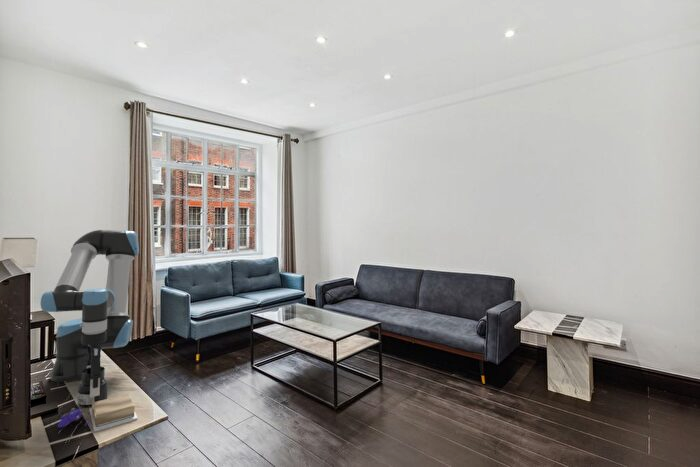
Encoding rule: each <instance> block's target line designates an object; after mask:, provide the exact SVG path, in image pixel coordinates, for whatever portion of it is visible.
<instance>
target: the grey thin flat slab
mask: <svg viewBox="0 0 700 467" xmlns="http://www.w3.org/2000/svg"><path fill="white" fill-rule="evenodd" d="M88 410H89V414H90V415H91V417H90V419H91V422H92V423H91V424H92V428H93V432H98V431H102V430H106V429H109V428H112V427H115V426H118V425H123V424H125V423H130V422H133V421H137V420H138V415H137V413H136V412H135V410H134V415H132V416H128V417H125V418H121V419H118V420H114V421H111V422H107V423H104V424H100V425H96V426H95V422H94V418H93V414H92V407H89V409H88ZM90 415H89V416H90Z"/></svg>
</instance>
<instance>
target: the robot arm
mask: <svg viewBox="0 0 700 467" xmlns="http://www.w3.org/2000/svg"><path fill="white" fill-rule="evenodd" d="M70 248H71V249H70V253H71V255H70V256H69V259H68V261H67V263H66V265H65V268H64V269H63V271H62V274H61V276H60V278H59V280H58V282H57V283H56V286H55V288H54V289H53V291H45V292H43V294H42V296H41V299H40V309H41V310H42V312H45V313H57V312H58V313H59V312H73V311H74V312H77V311H78V312H80V311H82V312H81V318H76V319H72V320H67V321H65V322H63V323H61V324H60V325H59V324H58V326H57V329H56V336H55V337H56V341H55V342H56V346H55V348H56V353H55V354H56V355H55V356H56V357H55V358H56V359H55V362H54V363H53V364H54V365H53V367H52V369H51V372H50V378H49V379H50V381H52V382H55V383H68V382H75V381H79V380H82V371H83V370H85V369H87V368H91V377H89V380H90V397H94V396H98V395H100V378H101V357H102V356H101V352H102V350H103V349H116V348H123V347H125V346H127V345H128V343H129V342H130V339H131V337H132V332H133V326H134V321H133V319H130V315H129V314H128V313H127V304H128V302H127V301H128V295H129V293H128V292H129V283H130V269H131V262H132V261H133V260H135V257H136V256H138V255H139V254H140V246H139V237H138V234H137V233H136V231H133V230H110V229H96V230H93V231H90V232H87V233H85V234H84V235H82V236H80V237H79V238H78V239H77V240H76V241H75V242H74V243H73V245H72V247H70ZM98 255H99V256H101V255H103V256H104V255H105V259H106V260H107V261H108V264H107V265H108V268H107V276H106V277H107V278H106V285H105V288H90V289H86V290H80V288H81V287H82V284H83V282H84V281H85V277H86V275H87V272H88V271H89V270H88V269H89V267H90V265H91V263H92V260H93V259H95V258H96V257H97V256H98ZM95 374H98V375H95Z"/></svg>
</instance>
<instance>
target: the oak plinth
mask: <svg viewBox="0 0 700 467" xmlns="http://www.w3.org/2000/svg"><path fill="white" fill-rule="evenodd" d="M91 408H92V414H93V418H94V422H95V426H96V425H100V424H104V423H107V422H111V421H114V420H118V419H121V418H125V417H128V416H132V415H134V411H135V404H134V403H133V400H132V398H131V395H130V393H126V394H120V395H117V396H113V397H109V398H107V399H105V400H101V401H97V402H93V403H92V407H91Z"/></svg>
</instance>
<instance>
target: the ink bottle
mask: <svg viewBox="0 0 700 467" xmlns="http://www.w3.org/2000/svg"><path fill="white" fill-rule="evenodd" d="M100 366H101V365H100ZM105 371H106V368H105V367H104V366H101V378H100V395H98V396H94V397H90V380H89V377H91V368H87V369H85V370H83V371H82V379H81V382H82V383H81V384H79V385H78V387H77V406H78V407H80V408H92V403H93V402H97V401H101V400H105V399H108V389H109V388H108V387H109V386H108V385H109V383H108V380H107V379H105V376H106V375H105ZM95 375H98V374H95Z"/></svg>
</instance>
